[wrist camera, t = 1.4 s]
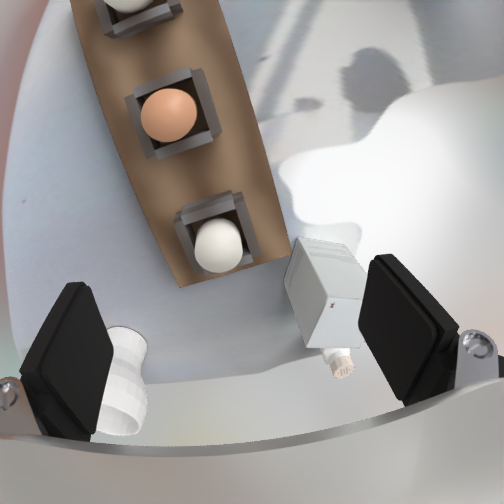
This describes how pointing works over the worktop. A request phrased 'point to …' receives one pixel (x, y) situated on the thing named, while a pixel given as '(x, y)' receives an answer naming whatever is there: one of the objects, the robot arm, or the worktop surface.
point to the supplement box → (326, 293)
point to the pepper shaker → (338, 361)
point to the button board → (196, 140)
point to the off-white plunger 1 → (129, 5)
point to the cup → (124, 385)
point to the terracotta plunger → (169, 114)
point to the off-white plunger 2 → (218, 245)
